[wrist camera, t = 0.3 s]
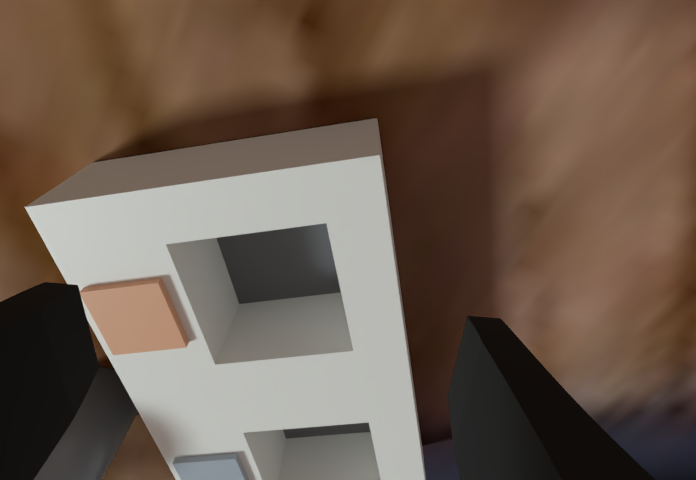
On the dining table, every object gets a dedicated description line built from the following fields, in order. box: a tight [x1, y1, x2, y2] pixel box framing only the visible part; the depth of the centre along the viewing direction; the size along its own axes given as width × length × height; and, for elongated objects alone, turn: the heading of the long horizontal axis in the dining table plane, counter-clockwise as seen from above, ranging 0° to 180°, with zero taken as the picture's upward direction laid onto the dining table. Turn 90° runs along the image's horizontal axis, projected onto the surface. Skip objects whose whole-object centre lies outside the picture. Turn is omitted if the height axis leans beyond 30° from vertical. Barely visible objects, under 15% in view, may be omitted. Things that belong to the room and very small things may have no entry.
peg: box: [34, 367, 138, 480], centre depth 21 cm, size 4×4×8 cm
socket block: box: [25, 118, 426, 480], centre depth 20 cm, size 18×11×4 cm, turn 10°
